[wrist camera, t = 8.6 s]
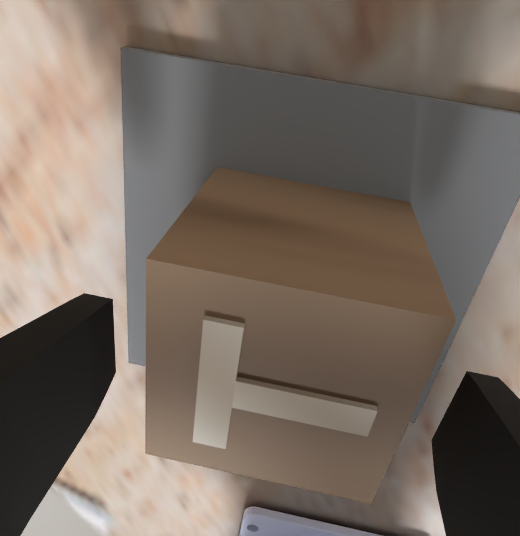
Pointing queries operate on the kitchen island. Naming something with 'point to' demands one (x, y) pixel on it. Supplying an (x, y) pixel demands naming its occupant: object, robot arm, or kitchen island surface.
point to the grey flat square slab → (313, 159)
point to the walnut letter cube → (290, 332)
